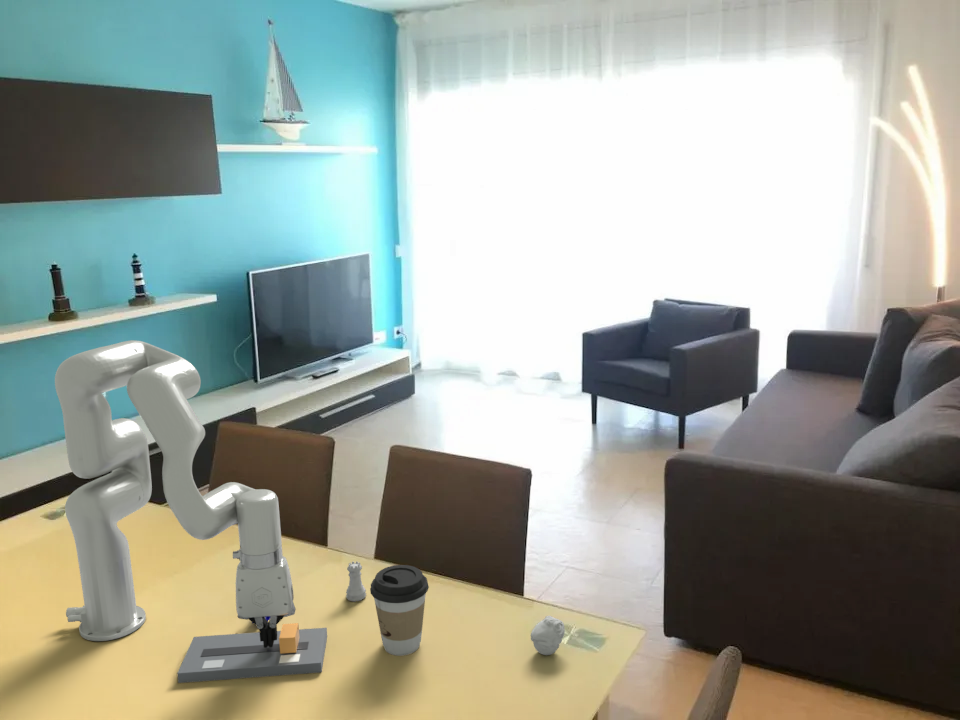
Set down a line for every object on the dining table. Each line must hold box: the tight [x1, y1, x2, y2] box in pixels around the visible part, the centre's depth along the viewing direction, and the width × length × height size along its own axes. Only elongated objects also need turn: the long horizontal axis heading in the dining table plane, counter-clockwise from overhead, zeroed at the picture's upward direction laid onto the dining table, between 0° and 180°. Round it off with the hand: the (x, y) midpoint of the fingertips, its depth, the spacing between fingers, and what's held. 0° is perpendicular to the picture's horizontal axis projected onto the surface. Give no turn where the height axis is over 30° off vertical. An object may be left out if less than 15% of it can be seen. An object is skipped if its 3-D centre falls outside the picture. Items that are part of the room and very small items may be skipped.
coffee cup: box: [369, 564, 430, 657], centre depth 153 cm, size 11×11×15 cm
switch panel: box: [176, 627, 328, 684], centre depth 151 cm, size 26×12×2 cm, turn 96°
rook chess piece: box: [345, 560, 367, 603], centre depth 173 cm, size 4×4×8 cm
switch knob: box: [279, 622, 300, 654], centre depth 151 cm, size 3×5×3 cm, turn 6°
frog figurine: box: [530, 615, 566, 656], centre depth 151 cm, size 6×7×7 cm
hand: (269, 643), depth 151 cm, fingers closed
